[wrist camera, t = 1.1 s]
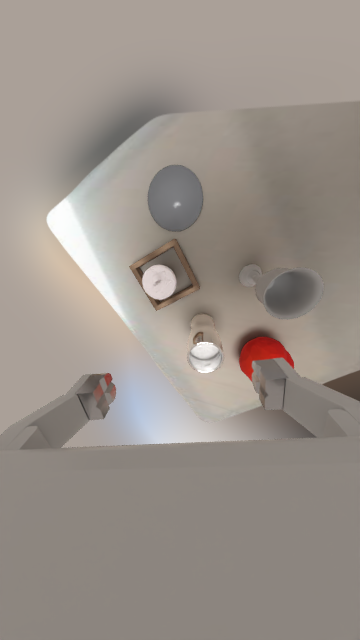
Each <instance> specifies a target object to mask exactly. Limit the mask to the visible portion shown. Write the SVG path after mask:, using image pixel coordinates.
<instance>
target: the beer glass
mask: <svg viewBox="0 0 360 640" xmlns="http://www.w3.org/2000/svg"><path fill="white" fill-rule="evenodd" d="M190 325H191V329H192V330H191V332H190V334H189V337H188V341H187V360H188V363H189V365H190V366H191V367H192V368H193V369H194V370H196V371H198V372H202V373H209V372H213V371H215V370H217V369H218V368H220V366H221V365H222V364H223V361H224V353H223V347H222V342H221V339H220V337H219V335H218V333H217V332H216V330H215V329H214V321H213V319H212V318H211V317H210V316H209V315H207V314H198V315H196V316H194V317H193V319H192V320H191V324H190Z"/></svg>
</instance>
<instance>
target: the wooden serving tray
mask: <svg viewBox="0 0 360 640" xmlns="http://www.w3.org/2000/svg"><path fill="white" fill-rule="evenodd" d="M172 247H174V249H175V251H176V253H177V255H178V257H179V259H180V261H181V263H182V265H183V267H184V269H185V271H186V273H187V275H188V277H189V278H190V280H191V282H192V284H193V285H192V286H190V287H188V288H186V289H184V290H182V291H180V292H178V293H176V294H174V295H173V296H171V297H169V298H167V299H165V300H163V301H161V302H160V301H159V299H154V298H152V297H150V296H149V295H148V294H147V293H146V292H145V290H144V288H143V284H142V278H143V275H144V274H143V272H142V271H141V269H140V267H141V266H142V265H144V264H146V263H147V262H149V261H151V260H152V259H154V258H156V257H157V256H159V255H161V254H162V253H164V252H166V251H167V250H169V249H171V248H172ZM129 267H130V269H131V270H132V272H133V274H134V275H135V277H136V279H137V280H138V282H139V284H140V285H141V287H142V288H143V290H144V292H145V293H146V295H147V297H148V298H149V300H150V301H151V303H152V305H153V306H154V308H155V310H156V311H157V310H159V309H161V308H163V307H165V306H167V305H169V304H171V303H173V302H175V301H177V300H179V299H181V298H183V297H185V296H187V295H189V294H191V293H193V292H195V291H197V290H198V289H200V286H199V284H198V282H197V280H196V278H195V276H194V274H193V272H192V270H191V268H190V266H189V264H188V262H187V260H186V258H185V256H184V254H183V252H182V250H181V248H180V246H179V244H178V242H177V240H176V239H173V240H171V241H170V242H168V243H167V244H165V245H163V246H162V247H160V248H158V249H157V250H155V251H154V252H152V253H150V254H149V255H147V256H145V257H144V258H142V259H141V260H139V261H137V262H136V263H134V264H132V265H131V266H129Z"/></svg>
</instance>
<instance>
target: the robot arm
mask: <svg viewBox="0 0 360 640" xmlns="http://www.w3.org/2000/svg"><path fill="white" fill-rule="evenodd" d="M252 368H253V370H254V372H253V373H252V382H253V386H254V389H255V391H256V392H257V393H258V394H259V399H260V401H261V403H262V405H263V407H264V409H265V410H270V409H271V410H272V409H283V410H284V411H285V412H286V413H287V414H289V415H290V416H291V417H292V418H294V419H295V420H297V421H298V422H299V423H300V424H301V425H303V426H304V427H305V428H307V429H308V430H309V431H310V432H312V433H313V434H314V435H315V436H316V437H318V438H299V439H298V438H297V439H274V440H248V441H225V442H224V441H223V442H196V443H172V444H148V445H122V446H97V447H72V448H61V447H62V446H63V445H64V444H65V443H66V442H67V441H68V440H69V439H71V438H72V437H73V436H74V435H75V434H76V433H77V432H78V431H79V430H80V429H81V428H82V427H83V426H84V425H85V424H86V423H87V422H88V421H89V420H98V419H104V418H105V416H106V414H107V412H108V410H109V404H111V403H112V402H113V401H114V399H115V395H116V388H115V385H114V384H113V383H112V382H111V381H112V377H111V374H109V373H101V374H87V375H83V376H82V377H81V378H80V379H79V380H78V381H77V382H76V384H75V385H74V386H73V387H72V388H71V389H70V390H69V391H68V392H67V394H66V395H62V396H60V397H59V398H57V399H55V400H54V401H52V402H50V403H49V404H47V405H45V406H44V407H42V408H40V409H38V410H37V411H35V412H33V413H32V414H30V415H28V416H27V417H25V418H23V419H21V420H20V421H18V422H16V423H15V424H13V425H11V426H10V427H9V428H8V429H7V430H5V431H4V432H3V433H2V434H1V435H0V640H360V402H359V401H357V400H355V399H353V398H350V397H348V396H346V395H343V394H341V393H339V392H337V391H335V390H332V389H330V388H328V387H326V386H323V385H321V384H319V383H317V382H314V381H312V380H310V379H308V378H305V377H301V376H300V375H299V374H298V373H297V372H296V371H295V370H294V369H293V368H292V367H291V366H290V365H289V364H288V362H287V361H286V360H285V359H284V358H273V359H266V360H255V361H252Z"/></svg>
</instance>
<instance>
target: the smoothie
mask: <svg viewBox="0 0 360 640" xmlns="http://www.w3.org/2000/svg"><path fill="white" fill-rule="evenodd" d="M176 283H177V281H176V277H175V274H174V272H173V271H172V270H171V269H170V268H168V267H167V266H164V265H159V264H158V265H153V266H151V267H150V268H148V269H147V270H146V271H145V273H144V275H143V278H142V284H143V288H144V290H145V292H146V293H147V294H148V295H149V296H150V297H152V298H154V299H166V298H168V297H169V296H171V295H172V294H173V292H174V291H175V288H176Z"/></svg>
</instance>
